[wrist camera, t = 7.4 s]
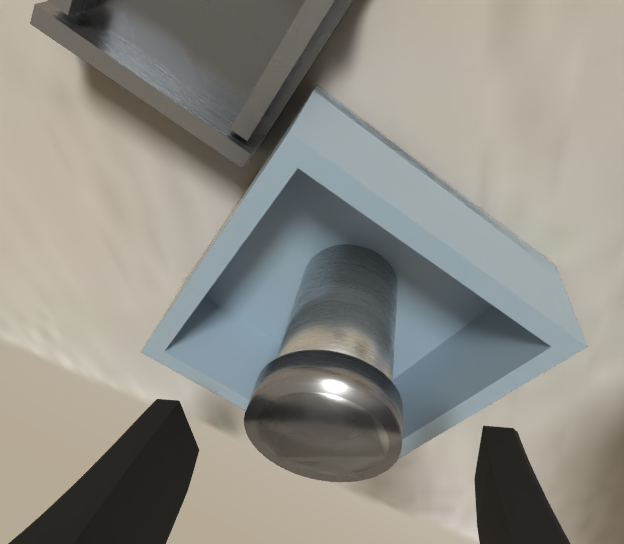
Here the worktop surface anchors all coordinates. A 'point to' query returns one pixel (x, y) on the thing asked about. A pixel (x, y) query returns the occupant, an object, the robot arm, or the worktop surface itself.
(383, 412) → the metal capped cylinder
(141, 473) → the robot arm
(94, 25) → the plate
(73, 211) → the worktop surface
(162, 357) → the bin
